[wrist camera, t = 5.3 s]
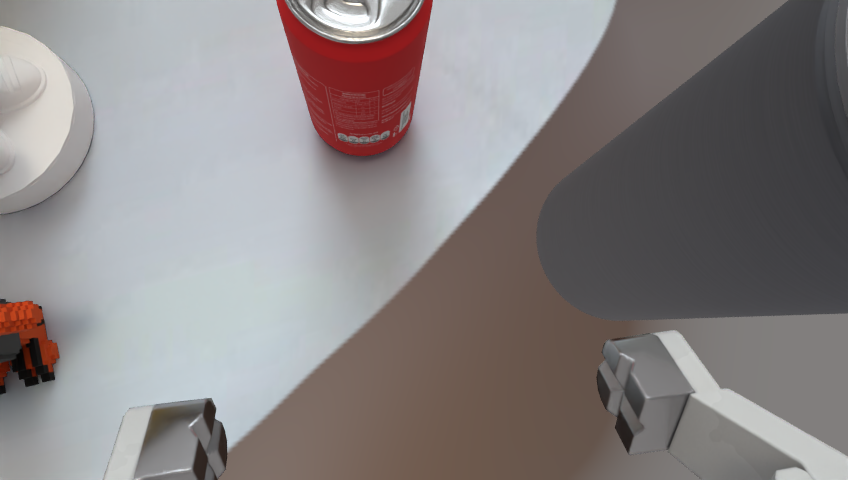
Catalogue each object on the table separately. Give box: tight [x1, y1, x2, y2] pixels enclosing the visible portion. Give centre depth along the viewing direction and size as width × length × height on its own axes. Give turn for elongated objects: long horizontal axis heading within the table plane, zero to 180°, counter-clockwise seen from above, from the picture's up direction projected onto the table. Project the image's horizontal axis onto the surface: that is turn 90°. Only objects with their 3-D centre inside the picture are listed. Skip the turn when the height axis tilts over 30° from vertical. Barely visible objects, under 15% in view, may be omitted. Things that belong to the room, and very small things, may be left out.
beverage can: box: [276, 0, 433, 156], centre depth 24 cm, size 5×5×12 cm
